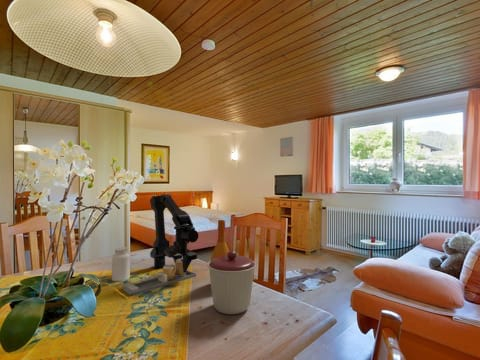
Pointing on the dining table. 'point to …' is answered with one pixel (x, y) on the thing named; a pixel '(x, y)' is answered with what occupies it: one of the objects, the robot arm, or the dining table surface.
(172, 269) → the amber jar
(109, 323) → the dining table surface
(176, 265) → the amber jar
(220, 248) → the wine bottle
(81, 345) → the dining table surface
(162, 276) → the pusher
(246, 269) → the canister
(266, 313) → the dining table surface
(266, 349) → the dining table surface
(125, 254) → the pill bottle
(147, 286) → the tray
